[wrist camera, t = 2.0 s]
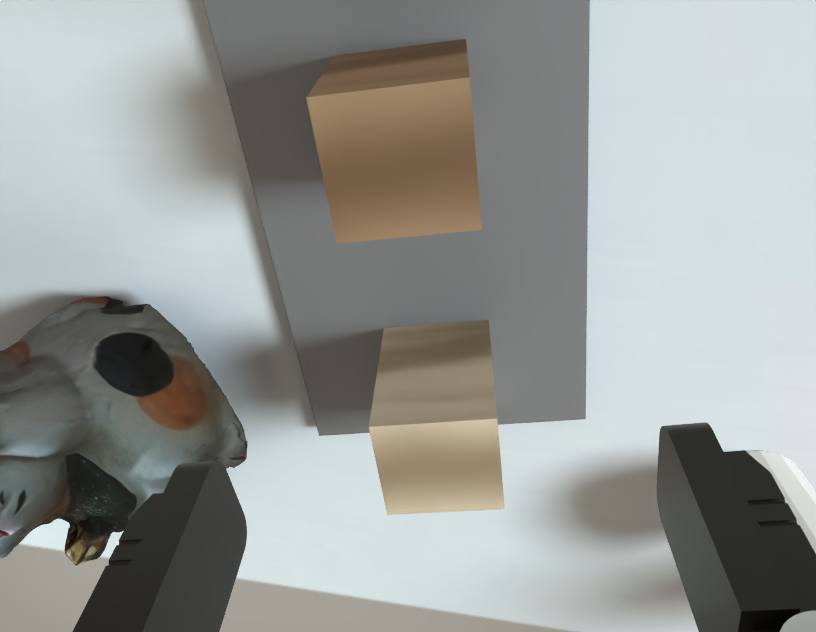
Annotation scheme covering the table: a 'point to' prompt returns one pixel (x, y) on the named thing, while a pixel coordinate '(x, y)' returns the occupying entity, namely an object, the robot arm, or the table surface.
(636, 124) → the table surface
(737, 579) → the robot arm
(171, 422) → the lucky cat figurine
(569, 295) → the board
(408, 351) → the pale birch block
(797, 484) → the white cylinder
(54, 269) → the table surface
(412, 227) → the walnut block
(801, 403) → the table surface
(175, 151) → the table surface
